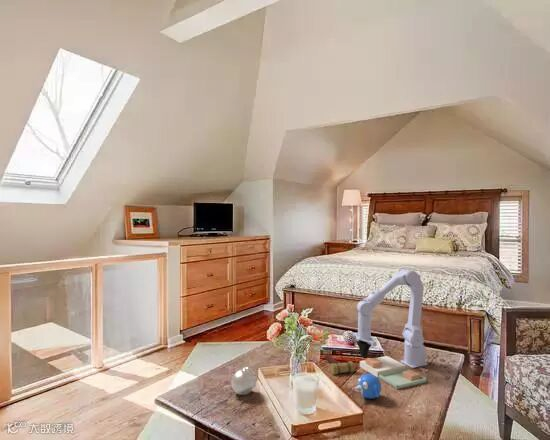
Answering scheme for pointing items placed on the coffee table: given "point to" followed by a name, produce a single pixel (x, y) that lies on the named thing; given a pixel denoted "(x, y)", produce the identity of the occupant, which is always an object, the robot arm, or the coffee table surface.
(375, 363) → the tile
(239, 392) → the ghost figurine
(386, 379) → the tray
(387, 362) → the board
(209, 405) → the coffee table surface
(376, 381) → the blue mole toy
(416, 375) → the tile
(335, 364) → the gavel
